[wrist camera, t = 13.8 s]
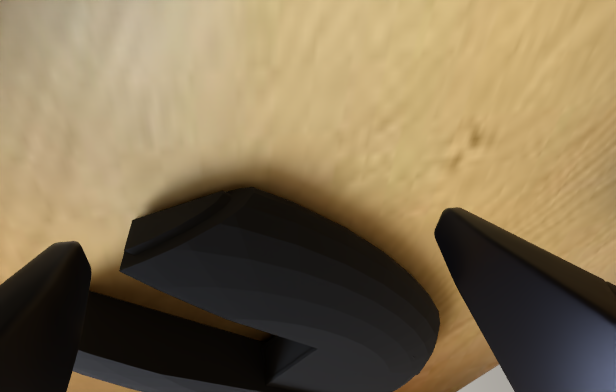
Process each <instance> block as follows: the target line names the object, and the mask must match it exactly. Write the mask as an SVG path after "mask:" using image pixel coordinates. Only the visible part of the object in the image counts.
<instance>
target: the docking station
mask: <svg viewBox="0 0 616 392" xmlns="http://www.w3.org/2000/svg"><path fill="white" fill-rule="evenodd" d="M119 271H120V272H122V273H124V274H126V275H128V276H130V277H132V278H134V279H136V280H138V281H140V282H142V283H144V284H146V285H149V286H151V287H153V288H155V289H157V290H159V291H162V292H164V293H166V294H168V295H171V296H173V297H175V298H178V299H180V300H182V301H185V302H187V303H189V304H191V305H194V306H196V307H198V308H201V309H203V310H205V311H208V312H210V313H213V314H215V315H217V316H220V317H222V318H224V319H227V320H230V321H233V322H236V323H239V324H242V325H246V326H249V327H252V328H255V329H258V330H261V331H264V332H267V333H270V334H274V335H276V336H274V337H273V338H272V339H271V340H269V341H268V342H267V343H264V342H261V341H258V340H254V339H251V338H247V337H244V336H241V335H237V334H234V333H230V332H227V331H224V330H220V329H217V328H213V327H210V326H207V325H203V324H200V323H196V322H193V321H190V320H186V319H183V318H179V317H176V316H173V315H169V314H166V313H163V312H159V311H156V310H152V309H149V308H146V307H142V306H139V305H135V304H132V303H129V302H125V301H122V300H118V299H115V298H112V297H108V296H105V295H101V294H98V293H95V292H91V291H89V294H88V300H87V306H86V313H85V319H84V325H83V331H82V336H81V341H80V346H79V349H78V353H77V357H76V360H75V364H74V367H73V370H72V371H74V372H77V373H79V374H82V375H85V376H89V377H92V378H95V379H99V380H102V381H106V382H109V383H113V384H116V385H119V386H123V387H126V388H130V389H134V390H138V391H142V392H393V391H395V390H397V389H398V388H400V387H401V386H403V385H404V384H406V383H407V382H408V381H409V380H411V379H412V378H413V377H414V376H415V375H418V374H419V373H420V371H421V370H422V369H423V367H424V366H425V364H426V362H427V361H428V359H429V358H430V356H431V355H432V353H433V350H434V348H435V344H436V341H437V336H438V332H439V326H440V319H439V311H438V310H437V308H436V306H435V304H434V303H433V301H432V299H431V298H430V296H429V295H428V293H427V292H426V291H425V290H424V289H423V288H422V287H421V285H420V284H419V283H418V282H417V281H416V280H415V279H414V277H413V276H412V275H411V274H410V273H408V272H407V271H406V270H405V269H404V268H402V267H401V266H400V265H399V264H397V263H396V262H395V261H394V260H393V259H391V258H390V257H389V256H388V255H387V254H385V253H384V252H383V251H381V250H380V249H378V248H376V247H375V246H373V245H372V244H370V243H368V242H367V241H365V240H364V239H362V238H361V237H359V236H357V235H356V234H354V233H353V232H351V231H350V230H348V229H346V228H345V227H343V226H341V225H339V224H337V223H335V222H332V221H330V220H328V219H326V218H324V217H322V216H320V215H318V214H316V213H314V212H312V211H310V210H308V209H306V208H304V207H302V206H300V205H298V204H296V203H294V202H291V201H289V200H286V199H283V198H281V197H278V196H275V195H273V194H270V193H267V192H265V191H262V190H259V189H256V188H254V187H249V188H241V189H237V190H232V191H228V192H225V191H220V192H217V193H214V194H211V195H208V196H205V197H202V198H199V199H196V200H193V201H190V202H187V203H184V204H180V205H177V206H174V207H171V208H168V209H165V210H162V211H159V212H156V213H153V214H150V215H147V216H144V217H141V218H138V219H135V220H132V224H131V227H130V231H129V234H128V238H127V242H126V245H125V249H124V255H123V259H122V262H121V266H120V270H119Z"/></svg>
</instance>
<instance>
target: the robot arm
mask: <svg viewBox="0 0 616 392" xmlns="http://www.w3.org/2000/svg"><path fill="white" fill-rule="evenodd" d="M434 235H435V239H436V241H437V243H438V246H439V248H440V250H441V253H442V255H443V257H444V260H445V262H446V264H447V267H448V269H449V271H450V274H451V276H452V278H453V280H454V282H455V285H456V286H457V288H458V290H459V292H460V294H461V296H462V298H463V299H464V301H465V303H466V305H467V307H468V308H469V310H470V312H471V314H472V316H473V317H474V319H475V321H476V323H477V325H478V326H479V328H480V330H481V332H482V334H483V335H484V337H485V339H486V341H487V343H488V344H489V346H490V348H491V350H492V352H493V353H494V355H495V357H496V359H497V361H498V362H499V364H500V366H501V368H502V370H503V371H504V373H505V375H506V376H507V379H508V380H509V382H510V384H511V386H512V388H513V389H514V391H515V392H616V286H615V285H613V284H611V283H609V282H605V281H604V280H603V279H601V278H599V277H597V276H595V275H593V274H591V273H589V272H587V271H585V270H583V269H581V268H579V267H577V266H575V265H573V264H571V263H569V262H567V261H565V260H563V259H561V258H559V257H558V256H556V255H554V254H552V253H550V252H548V251H546V250H544V249H542V248H540V247H538V246H536V245H534V244H532V243H530V242H528V241H526V240H524V239H522V238H520V237H518V236H516V235H514V234H512V233H510V232H508V231H506V230H504V229H502V228H500V227H498V226H496V225H494V224H492V223H490V222H488V221H486V220H484V219H482V218H480V217H478V216H476V215H474V214H472V213H470V212H468V211H466V210H464V209H462V208H447V209H445V210H444V211H443V212H442V215H441V217H440V219H439V221H438V223H437V226H436V228H435V232H434ZM90 282H91V267H90V264H89V262H88V260H87V258H86V255H85V253H84V251H83V249H82V247H81V245H80V244H79V243H78V242H76V241H69V242H58V243H54V244H52V245H51V246H50V247H48V248H47V249H46V250H44V251H43V252H42V253H41V254H39V255H38V256H37V257H36V258H34V259H33V260H32V261H30V262H29V263H28V264H27V265H25V266H24V267H23V268H21V269H20V270H19V271H18V272H16V273H15V274H14V275H13V276H11V277H10V278H9V279H7V280H6V281H5V282H4V283H2V284H1V285H0V392H66V391H67V387H68V384H69V381H70V377H71V374H72V370H73V367H74V364H75V360H76V357H77V353H78V349H79V346H80V341H81V336H82V331H83V325H84V319H85V313H86V306H87V300H88V294H89V288H90Z"/></svg>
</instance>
